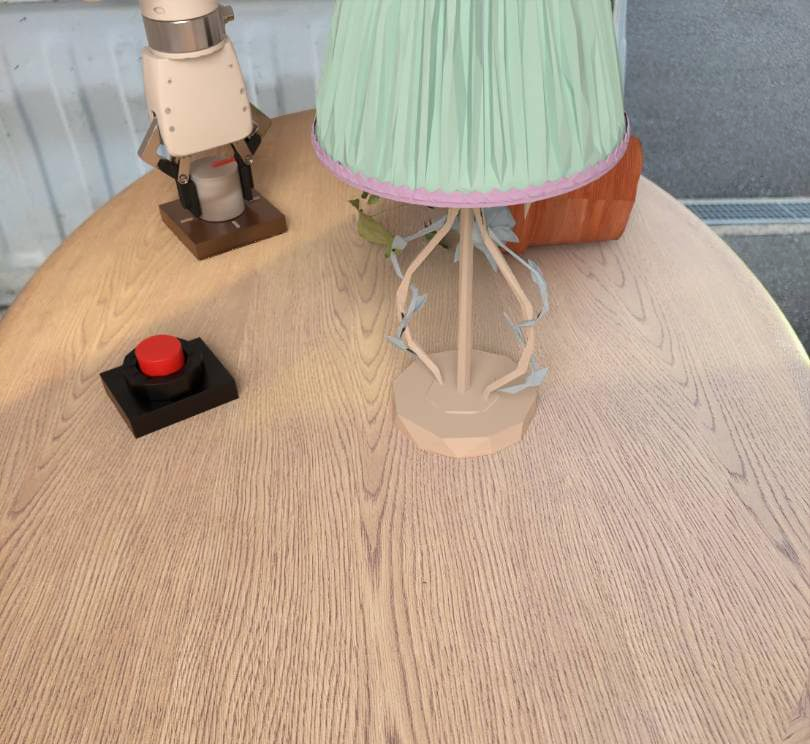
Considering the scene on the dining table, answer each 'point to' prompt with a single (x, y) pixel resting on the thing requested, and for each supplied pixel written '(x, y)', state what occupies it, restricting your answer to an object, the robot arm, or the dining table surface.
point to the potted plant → (554, 211)
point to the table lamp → (469, 166)
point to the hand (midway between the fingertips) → (219, 202)
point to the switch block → (169, 389)
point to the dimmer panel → (223, 226)
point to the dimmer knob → (217, 187)
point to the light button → (160, 355)
